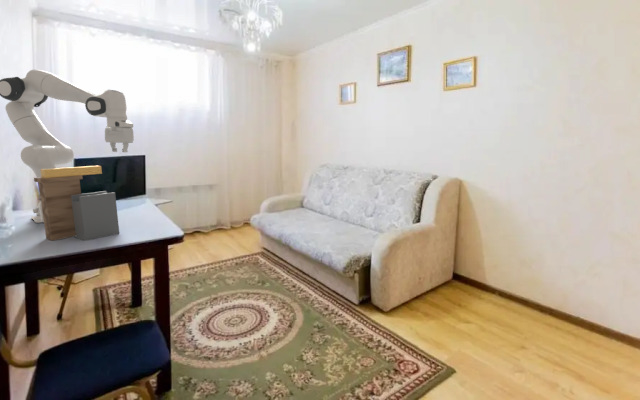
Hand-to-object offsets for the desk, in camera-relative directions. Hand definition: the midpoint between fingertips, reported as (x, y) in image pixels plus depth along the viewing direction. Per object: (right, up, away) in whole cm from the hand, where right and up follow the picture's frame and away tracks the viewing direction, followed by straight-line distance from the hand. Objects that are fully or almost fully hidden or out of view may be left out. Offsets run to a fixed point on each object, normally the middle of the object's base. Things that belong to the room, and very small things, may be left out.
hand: (119, 152), depth 175 cm
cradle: (+2, -40, -21) cm, 45 cm away
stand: (-11, -40, -22) cm, 47 cm away
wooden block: (-8, -13, -22) cm, 27 cm away
